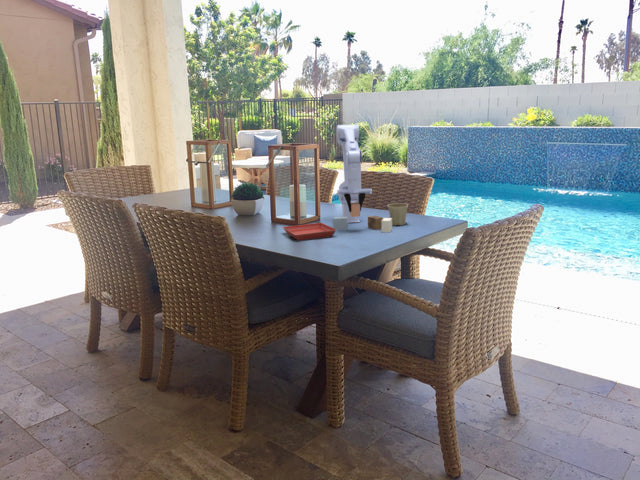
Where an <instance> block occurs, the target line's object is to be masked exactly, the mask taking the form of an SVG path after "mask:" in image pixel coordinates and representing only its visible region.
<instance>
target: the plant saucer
mask: <svg viewBox="0 0 640 480" xmlns="http://www.w3.org/2000/svg"><path fill="white" fill-rule="evenodd" d="M282 229H283V230H284V231H285V233H287V235H289V236H290V237H292V238H294V239H296V241H306V240H315V239H322V238H331V237H333V235H334V234H335V233H336V231H337V230H336V229H334V228H333V227H331V226H330V225H327V224H326V223H323V222H316V223H307V224H306V223H305V224H299V225H289V226H288V225H287V226H282Z"/></svg>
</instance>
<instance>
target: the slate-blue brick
mask: <svg viewBox="0 0 640 480" xmlns="http://www.w3.org/2000/svg"><path fill="white" fill-rule="evenodd" d="M348 224H349V223H348V219H347V217H343V216H334V217H333V218H332V225H333V227H332V228H334V229H336V231H339V230H340V231H344V230H345V231H346V230H348V227H349V226H348Z"/></svg>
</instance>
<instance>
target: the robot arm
mask: <svg viewBox="0 0 640 480" xmlns="http://www.w3.org/2000/svg"><path fill="white" fill-rule="evenodd" d="M359 138H360V126H359V124H358V123H355V124H337V125H336V139H337V140H336V142H337V145H339V146H341V148H342V154H343V155H342V157H343V159H342V161H343V174H344V175H343V176H344V181H342V183H340V184H339V187H338V190H336V195H337V196H338V200H339V202H340V203H342V206H341V207H342V217H347V219H348V224H349V223H360V222H361V221H360V219H359V216H358V217H352V216H351V215H350V212H351V203H353V202H358V203H359V204H360V212H361V211H362V207H363V203H364V201H365V198H366V197H367V195H372V194H373V190H372V188H362V163H363V152H362V149H360V147H359V143H358V141H359Z"/></svg>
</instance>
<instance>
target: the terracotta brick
mask: <svg viewBox="0 0 640 480" xmlns="http://www.w3.org/2000/svg"><path fill="white" fill-rule="evenodd" d="M350 215H351V216H352V217H358V218H359V217H361V211H360V204H359V201H358V202H353V203H351V212H350Z"/></svg>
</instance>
